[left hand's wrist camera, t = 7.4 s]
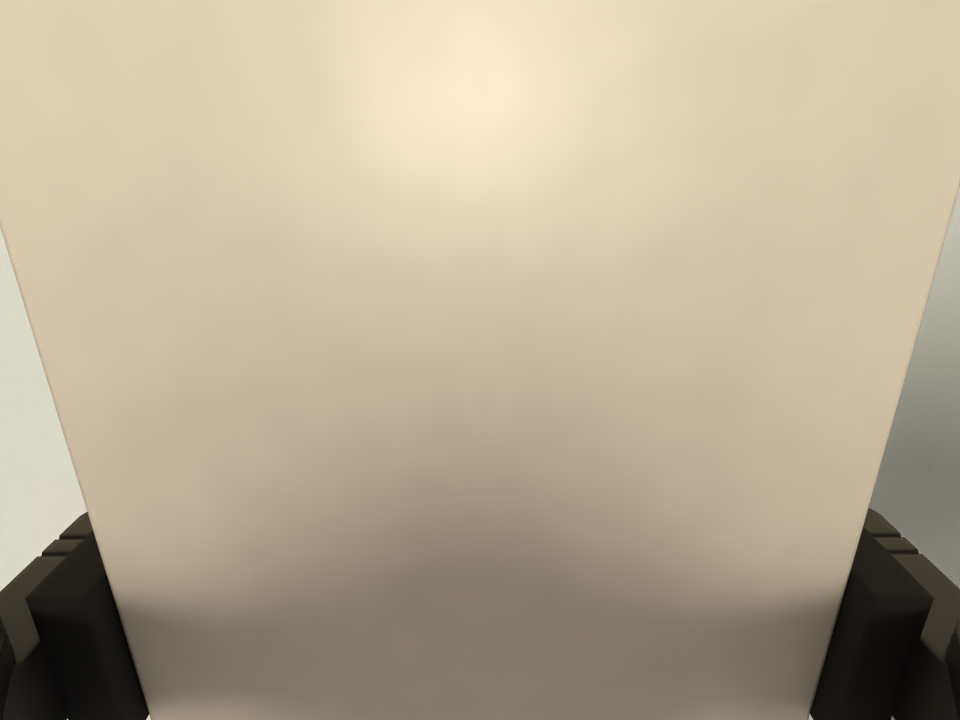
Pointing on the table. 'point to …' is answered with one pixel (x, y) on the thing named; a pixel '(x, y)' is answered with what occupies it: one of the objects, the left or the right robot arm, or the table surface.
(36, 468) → the table surface
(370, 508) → the thick board
